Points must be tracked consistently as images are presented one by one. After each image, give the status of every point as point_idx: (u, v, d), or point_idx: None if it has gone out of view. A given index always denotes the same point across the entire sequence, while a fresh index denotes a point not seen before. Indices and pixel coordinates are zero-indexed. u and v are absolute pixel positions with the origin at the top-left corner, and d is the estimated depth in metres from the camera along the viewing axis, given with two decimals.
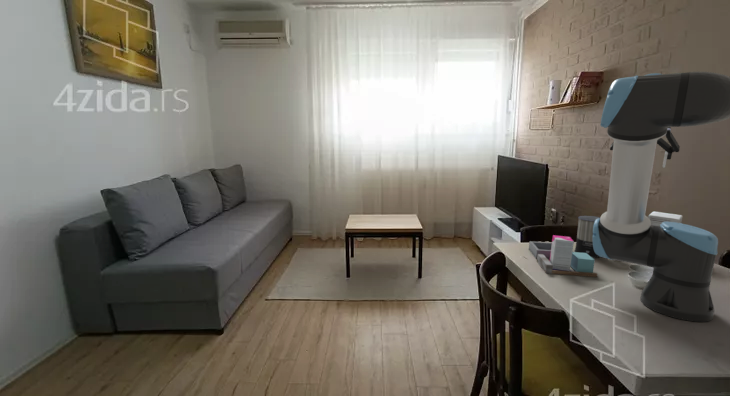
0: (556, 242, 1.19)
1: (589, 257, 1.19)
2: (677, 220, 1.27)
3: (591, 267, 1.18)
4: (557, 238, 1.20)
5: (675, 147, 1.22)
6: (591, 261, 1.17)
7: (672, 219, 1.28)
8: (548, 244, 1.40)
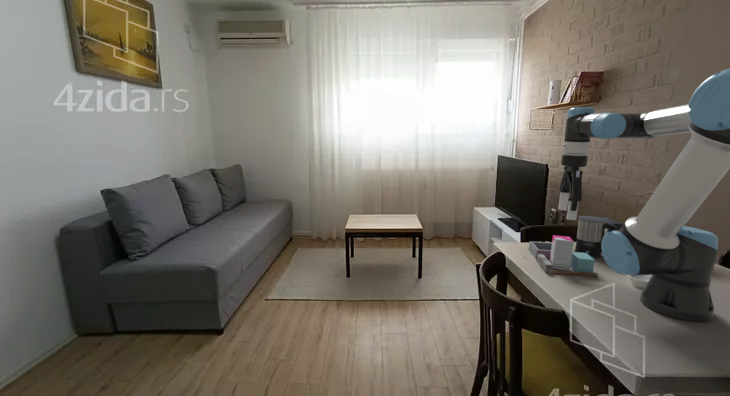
0: (556, 242, 1.19)
1: (589, 257, 1.19)
2: None
3: (591, 267, 1.18)
4: (557, 238, 1.20)
5: None
6: (591, 261, 1.17)
7: None
8: (548, 244, 1.40)
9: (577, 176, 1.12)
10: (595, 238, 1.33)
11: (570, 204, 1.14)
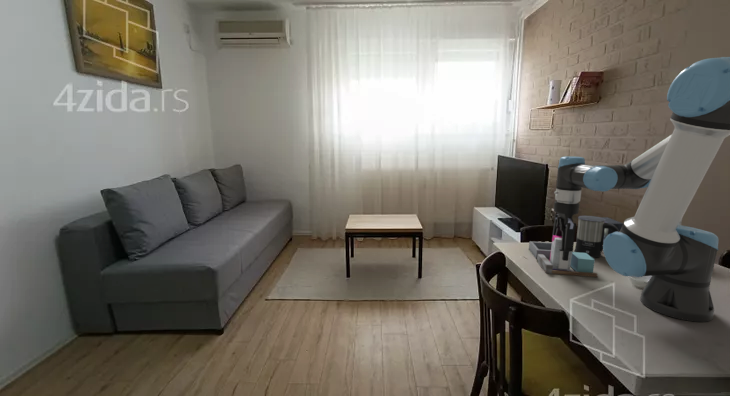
0: (556, 242, 1.19)
1: (589, 257, 1.19)
2: None
3: (591, 267, 1.18)
4: (557, 238, 1.20)
5: None
6: (591, 261, 1.17)
7: None
8: (548, 244, 1.40)
9: (571, 228, 1.14)
10: (594, 238, 1.33)
11: (562, 254, 1.18)
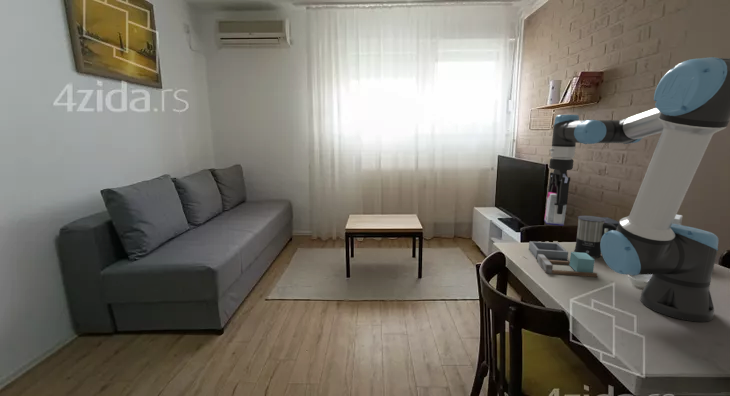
0: (551, 197, 1.26)
1: (589, 257, 1.19)
2: (677, 220, 1.27)
3: (591, 267, 1.18)
4: (552, 194, 1.27)
5: None
6: (591, 261, 1.17)
7: None
8: (548, 244, 1.40)
9: (565, 182, 1.20)
10: (594, 238, 1.33)
11: (556, 208, 1.25)
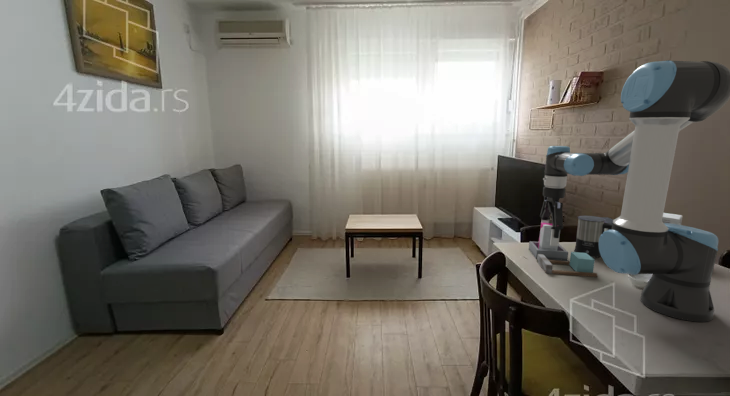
0: (544, 228, 1.33)
1: (589, 257, 1.19)
2: (677, 220, 1.27)
3: (591, 267, 1.18)
4: (545, 225, 1.34)
5: None
6: (591, 261, 1.17)
7: (672, 219, 1.28)
8: None
9: (558, 207, 1.26)
10: (594, 238, 1.33)
11: (553, 232, 1.28)
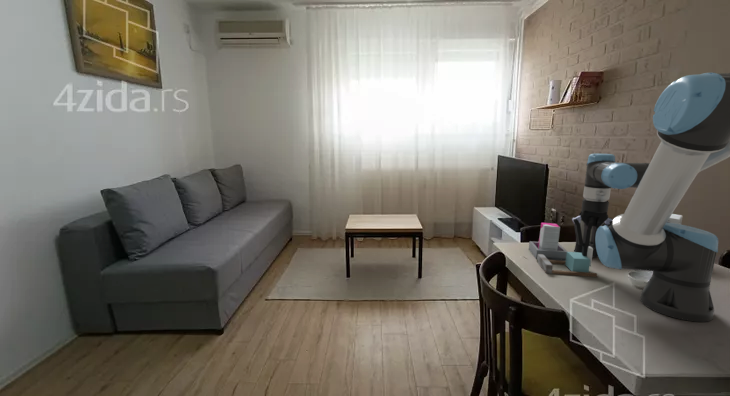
0: (544, 228, 1.33)
1: (584, 257, 1.19)
2: (677, 220, 1.27)
3: (587, 267, 1.18)
4: (545, 225, 1.34)
5: None
6: (586, 261, 1.18)
7: (672, 219, 1.28)
8: None
9: None
10: None
11: None
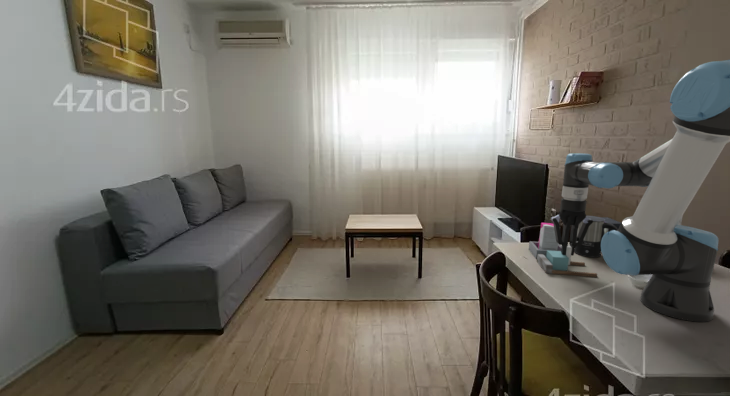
0: (544, 228, 1.33)
1: (563, 255, 1.21)
2: None
3: (565, 265, 1.19)
4: (545, 225, 1.34)
5: None
6: (565, 259, 1.19)
7: None
8: None
9: None
10: (594, 237, 1.33)
11: (571, 250, 1.20)
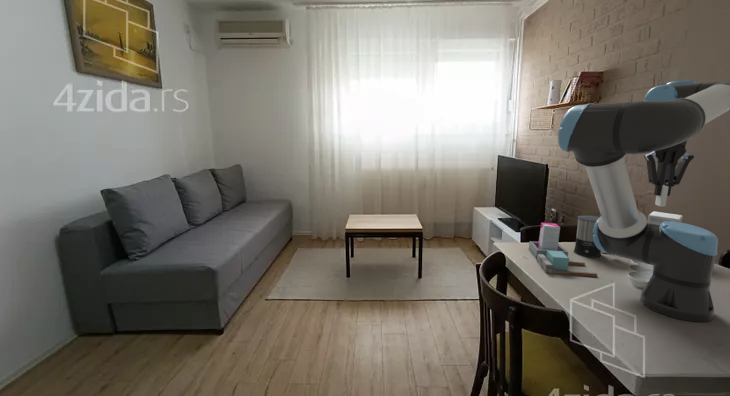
0: (544, 228, 1.33)
1: (563, 255, 1.21)
2: (677, 220, 1.27)
3: (565, 265, 1.19)
4: (545, 225, 1.34)
5: None
6: (565, 259, 1.19)
7: (672, 219, 1.28)
8: None
9: None
10: None
11: None
